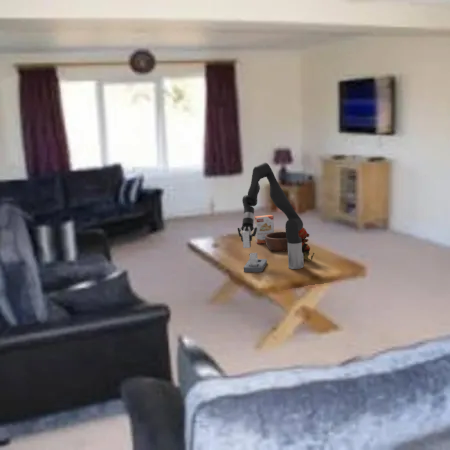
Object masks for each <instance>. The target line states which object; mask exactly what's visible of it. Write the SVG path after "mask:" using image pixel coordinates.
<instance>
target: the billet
mask: <svg viewBox="0 0 450 450" xmlns="http://www.w3.org/2000/svg"><path fill="white" fill-rule="evenodd" d="M241 234H242V236H243V242H242V247H243V249H251V247H252V241H251V242H250V241H249V237H250V231H242V232H241Z"/></svg>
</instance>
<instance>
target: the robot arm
mask: <svg viewBox="0 0 450 450" xmlns="http://www.w3.org/2000/svg"><path fill="white" fill-rule="evenodd" d="M251 173H252V174H251V179H250V180H251V181H250V186H249V189H248V191H247V194H245V195H243V196H242V201H241V202H242V205H243V216H242V225H241V227H237V233H238V235H239V237H240V241H241V242H242V243H243V236H242V232H243V231H250V237H249V241H250V242H251V243H252V241H253V237H255V235H256V232H257V227H256V228H255V226H254V224H255V218H254V217H255V216H254V215H255V208H254V207H256V206H257V205H258V195H259V193H260V190H261V185H260V184H259V182H260V181H261V179H264V178H266V179H267V180H268V183H269V196H270V199H271V200H272V203H273V204H274V206H276V207H277V209H279V210H280V211H281V212H282V213H283V214H284V215H285V216H286V217H287V220H286V222H285V232H286V238H287V241H288V251H287V259H288V261H287V262H288V269H289V270H290V269H291V270H299V269H302V268H304V267H305V265H304V262H305V261H304V259H303V253H302V239H301V237H299V234H298V231H300V230H301V229H302V228H304V223H303V220H302V219H301V217H300V216H299V215H298V213H297V212H296V211H295V209H294V208H293V205H292V204H291V203H290V200H289V199H288V197H287V195H286V194H285V192H284V191H283V189H282V187H281V185H280V183H279V182H278V180H277V178H276V175H275V174H274V171H273V170H272V168H271V166H270V165H269V163H267V162H262V163H260V164H257V165H255V166H254V167H253V169H252V172H251ZM241 231H242V232H241Z"/></svg>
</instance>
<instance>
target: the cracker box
mask: <svg viewBox="0 0 450 450" xmlns="http://www.w3.org/2000/svg"><path fill="white" fill-rule="evenodd" d="M274 221H275V220H274V215H272V214H267V215H256V216H254V228H256V227H257V232H256V235H255V236H254V238H255V240H254V242H255V243H256V244H266V240H265V236H266V235H267V234H269V233H274V232H275V229H274V227H275V226H274V225H275V223H274Z"/></svg>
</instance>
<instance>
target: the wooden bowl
mask: <svg viewBox="0 0 450 450" xmlns="http://www.w3.org/2000/svg"><path fill="white" fill-rule="evenodd" d="M265 240H266V243H265V244H266V247H267V248H268V249H269V250H270V251H271V252H273V251H274V252H288V241H287V238H286V231H274V233H269V234H267V235H266V236H265Z"/></svg>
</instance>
